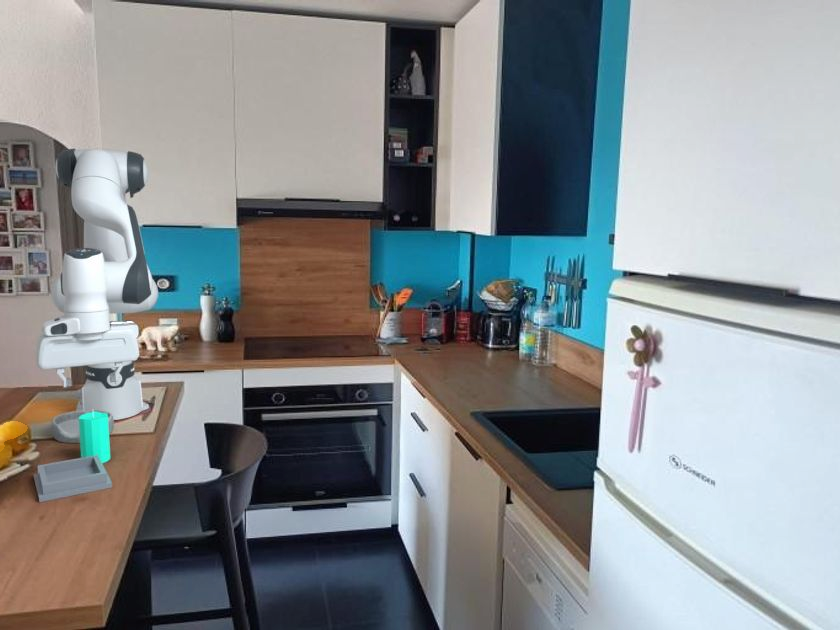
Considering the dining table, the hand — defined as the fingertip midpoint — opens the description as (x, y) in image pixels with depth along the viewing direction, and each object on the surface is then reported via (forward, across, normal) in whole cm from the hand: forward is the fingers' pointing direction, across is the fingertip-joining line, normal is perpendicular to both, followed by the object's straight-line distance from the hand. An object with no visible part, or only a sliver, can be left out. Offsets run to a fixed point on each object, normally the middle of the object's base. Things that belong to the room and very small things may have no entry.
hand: (91, 384), depth 145 cm
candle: (+18, 0, -1) cm, 18 cm away
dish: (+18, 0, -20) cm, 27 cm away
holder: (+18, +6, +10) cm, 22 cm away
